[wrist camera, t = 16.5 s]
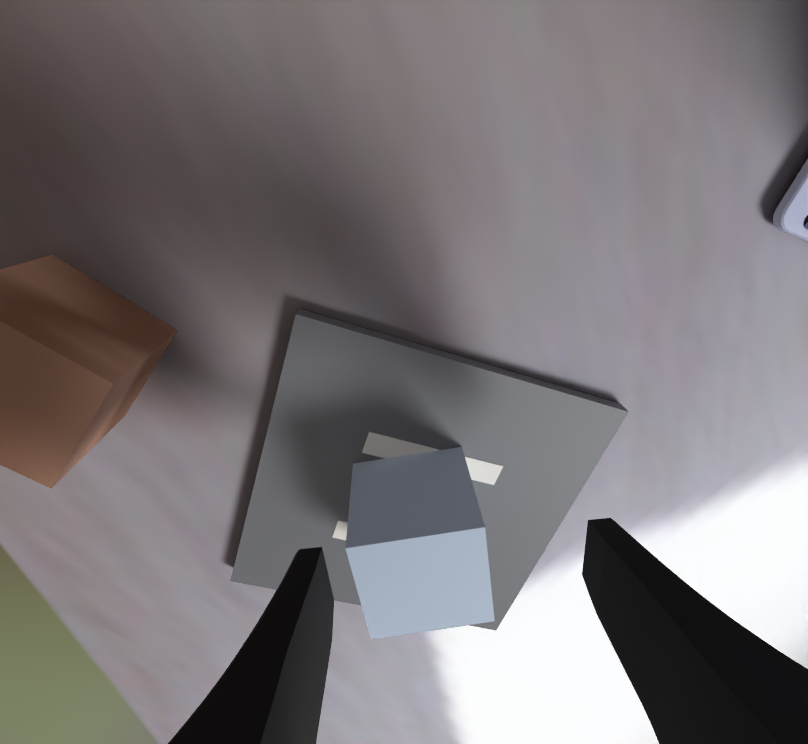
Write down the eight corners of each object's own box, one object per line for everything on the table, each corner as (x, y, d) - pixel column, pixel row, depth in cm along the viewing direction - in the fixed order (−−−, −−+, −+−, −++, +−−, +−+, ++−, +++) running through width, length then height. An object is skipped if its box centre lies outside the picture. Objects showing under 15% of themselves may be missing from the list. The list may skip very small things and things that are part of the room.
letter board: (620, 403, 17) (629, 412, 16) (493, 618, 21) (496, 630, 21) (298, 308, 15) (295, 314, 14) (234, 569, 19) (230, 581, 19)
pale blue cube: (461, 446, 16) (485, 527, 13) (471, 529, 18) (494, 621, 14) (352, 463, 16) (345, 548, 13) (372, 544, 18) (371, 639, 15)
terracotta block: (178, 329, 15) (113, 383, 11) (125, 414, 16) (51, 488, 12) (54, 253, 14) (-62, 286, 10) (8, 351, 15) (-112, 412, 11)
